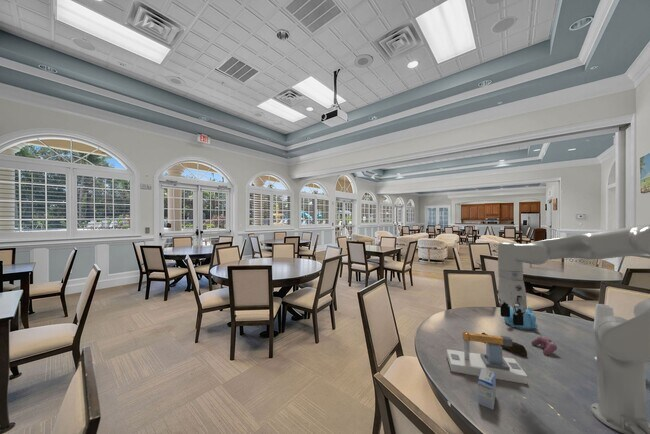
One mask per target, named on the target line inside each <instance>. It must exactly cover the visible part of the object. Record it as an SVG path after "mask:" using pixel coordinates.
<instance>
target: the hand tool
mask: <svg viewBox="0 0 650 434" xmlns="http://www.w3.org/2000/svg"><path fill="white" fill-rule="evenodd" d="M481 334H484V335H488V333H485V332H482V333H481ZM501 346H502V349H503V348H504V349H507V350H508V351H510V352H511V353H513V354H515V355H519V356H524V357H528V352H527V349H526V347H525V346H524V345H523V344H520V343H518V342H514V341H512V347H511V346H504V345H501Z"/></svg>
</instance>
